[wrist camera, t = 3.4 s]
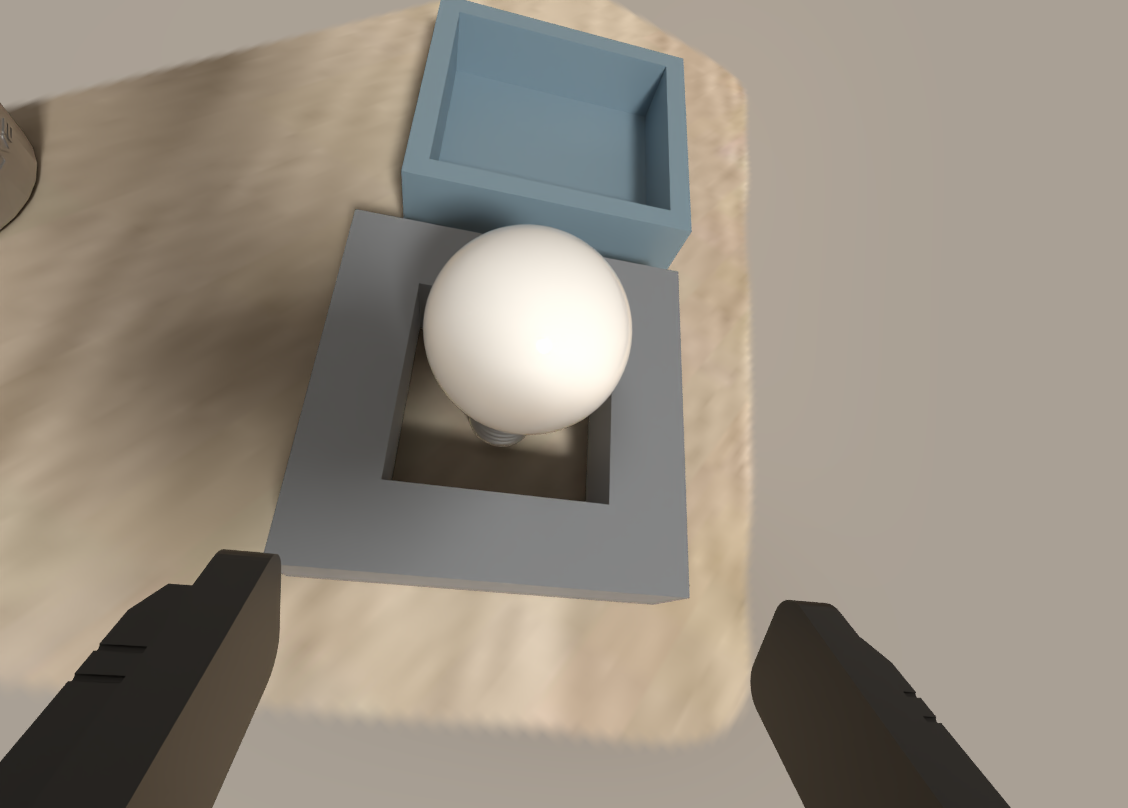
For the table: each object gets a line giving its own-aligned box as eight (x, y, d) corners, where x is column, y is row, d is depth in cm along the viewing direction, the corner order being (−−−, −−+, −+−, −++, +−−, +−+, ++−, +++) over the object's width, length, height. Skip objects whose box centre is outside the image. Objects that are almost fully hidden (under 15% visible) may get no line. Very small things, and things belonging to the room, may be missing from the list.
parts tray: (404, 233, 27) (401, 170, 23) (440, 67, 32) (442, -7, 28) (658, 282, 29) (691, 231, 26) (656, 120, 34) (683, 58, 31)
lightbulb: (493, 331, 26) (535, 140, 16) (597, 420, 25) (707, 278, 16) (390, 424, 23) (366, 261, 13) (505, 526, 23) (567, 434, 13)
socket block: (286, 575, 20) (261, 563, 17) (363, 261, 26) (355, 209, 23) (653, 604, 23) (689, 598, 20) (650, 312, 28) (678, 271, 25)
